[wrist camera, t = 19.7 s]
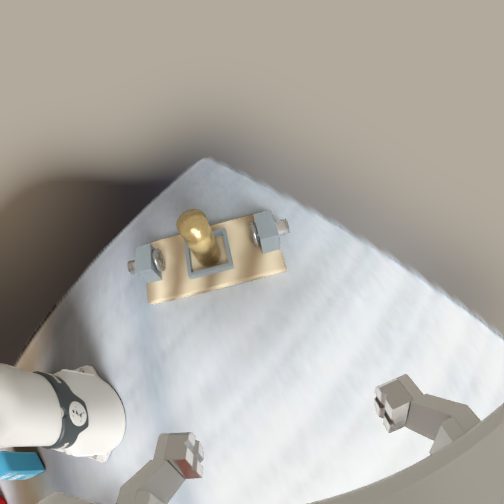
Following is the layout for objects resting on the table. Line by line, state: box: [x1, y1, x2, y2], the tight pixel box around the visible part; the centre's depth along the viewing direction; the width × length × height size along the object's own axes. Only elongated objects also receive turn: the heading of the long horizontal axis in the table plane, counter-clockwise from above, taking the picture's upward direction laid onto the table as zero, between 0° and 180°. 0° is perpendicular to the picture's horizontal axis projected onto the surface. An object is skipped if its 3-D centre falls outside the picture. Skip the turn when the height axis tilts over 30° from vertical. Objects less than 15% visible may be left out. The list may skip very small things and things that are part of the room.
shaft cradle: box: [128, 210, 289, 305], centre depth 46 cm, size 28×12×6 cm, turn 103°
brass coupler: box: [177, 209, 221, 266], centre depth 43 cm, size 4×4×10 cm
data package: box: [0, 451, 45, 480], centre depth 23 cm, size 12×4×12 cm, turn 129°
